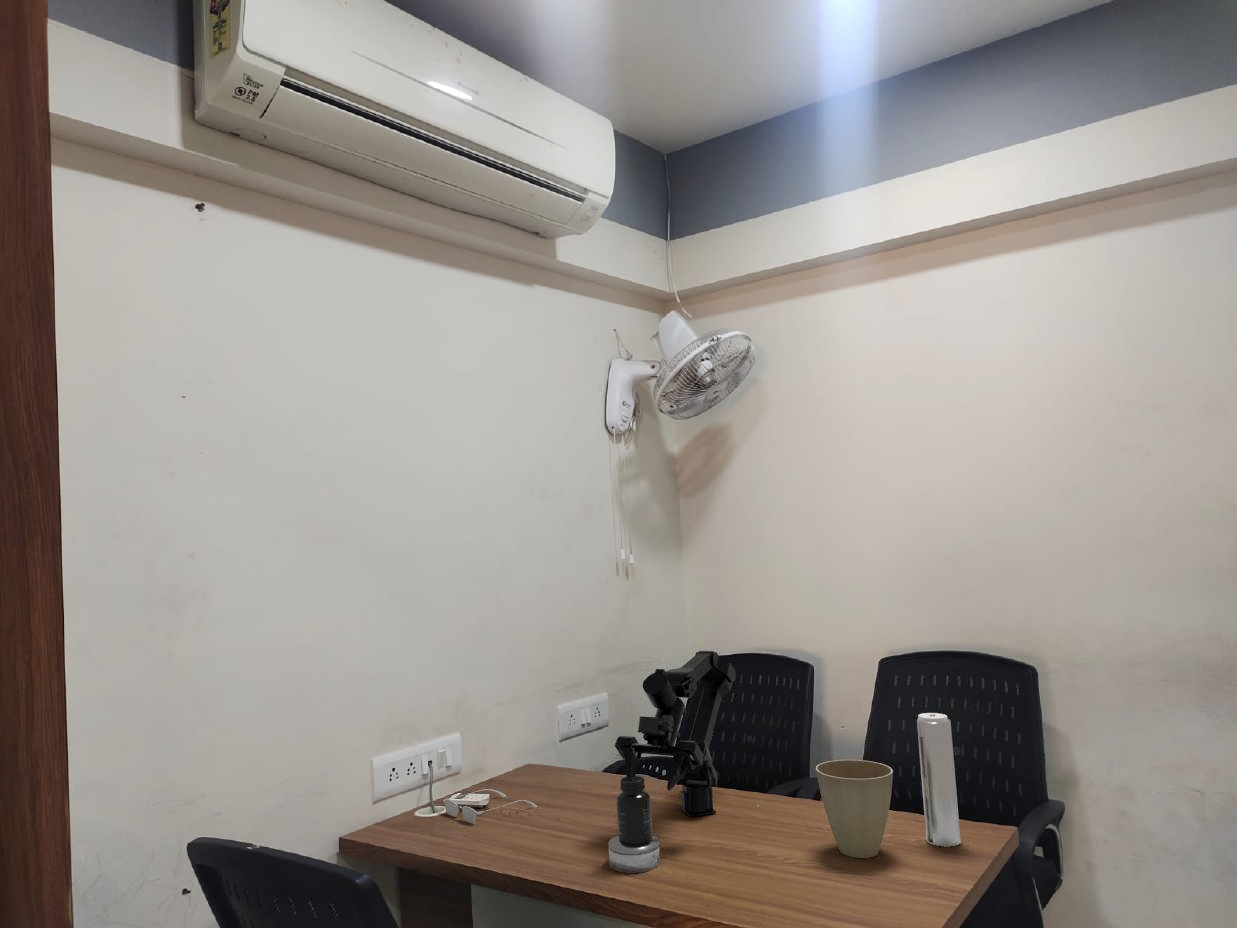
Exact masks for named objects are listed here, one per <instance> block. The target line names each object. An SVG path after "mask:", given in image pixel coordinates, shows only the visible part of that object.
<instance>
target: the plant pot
mask: <svg viewBox="0 0 1237 928" xmlns="http://www.w3.org/2000/svg"><path fill="white" fill-rule="evenodd" d="M815 771H816V772H815V773H816V777H817V781H818V787H819V793H820V796H821V799H822V803H823V807H824V810H825V814H826V817H827V820H828V824H829V826H830V829H831V832H832V835H833V838H834V840H835V843H836V845H837V847H838V849H839V851H840V853H841V854H843V856H844V855H845V856H847V857H850V858H856V859H868V858H872V857H873V858H874V857H875V856H877V855H878V854H879V851H880V849H881V845H882V842H883V839H884V835H885V831H886V827H887V822H888V817H889V813H890V806H891V799H892V790H893V789H892V788H893V780H894V779H893V776H894V775H893V774H894V769H892V768H891V767H890V766H889V765H887V764H884V763H880V762H876V761H870V760H863V759H862V760H861V759H860V760H859V759H836V760H830V761H825V762H821V763H818V764H817V765H816V766H815Z"/></svg>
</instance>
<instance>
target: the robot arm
mask: <svg viewBox="0 0 1237 928" xmlns="http://www.w3.org/2000/svg"><path fill="white" fill-rule="evenodd" d="M694 654H695V655H694V656H693V657H692V658H691V659H689V660H688V661H687V662H686V663H684V664H683V665H682V666H681V667H677V668H674V669H673V668H672V669H669V670H665V669H664V668H655V670H654V672H653V673H651V674H649V675H648V676H647V677H646V678H645V679H644V680H643V683H642V689H643V691H644V693H645V695H646V696H647V698H648V700H649V702H650V703H651V705H652V706H653V708H655V709H656V712H655V715H654V716H639V721H638V729H637V732H638V733H640V734H643V736H642V738H643V740H644V741H646V742H647V743H639V742H638V740H637V738H636V737H635V736H628V735H620V736H618V737H617V738H616V740H615V743H614V748H615V749H616V751H617V752H618V753H619V755H620V757H621V758H622V759H623V760H624V761H625V773H626V774H625V775H626V776H625V777H629V776H637V775H636V774H637V772H638V770H639V767H640V764H641V762H640V759H641V758H642V755H644V754H647V755H656V756H657V755H658V756H668V757H673V764H672V768H671V770H670V774H669V777H668V780H667V785H666V789H667V791H671V790H672V789H674V787H675V786H682V790H681V791H680V805H681V807H680V810H681V811H683V812H684V813H685V814H686V815H687V816H688V817H693V818H694V817H699V816H708V815H712V814H713V815H714V814H717V811H716V809H714V803H713V801H714V800H713V788H714V787H717V786H718V779H719V778H718V775H719V774H718V772H717V770H716V768H715V765H713V759H712V756H711V755H710V754H711V753H710V751H709V748H710V744H711V739H712V736H713V732H714V729H715V726H716V721H717V718H718V713H719V711H720V710H719V709H720V706H721V701H722V699H723V698H724V697H725V696H727V695H728V694H729V693H730V692H731V690H732V688H733V684H734V683H735V681H736V675H737V674H736V670H735V668H734V667H733V665H732V663H731V662H730V661H729V660H727V659H725V658H724V657H722V656H720V655H719V653H718V652H716V651H713V650H698V651H696V652H695V653H694ZM697 682H700V685H701V687H702V694H701V697H700V701H699V705H698V708H697V712H696V716H695V719H694V722H693V726H692V730H691V732H690V736H689V740H685V739H680V740H679V741H678V742H677V746H675V744H676V740H677V738H680V736H681V733H680V730H679V729H680V725H681V722H682V718H683V716H686V715H687V710H686V705H685V703H684V702H683V700H682V698H683V699H689V698H690V699H691V698H692V697H693V696H694V694H695V692H696V691H697Z"/></svg>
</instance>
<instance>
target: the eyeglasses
mask: <svg viewBox="0 0 1237 928" xmlns="http://www.w3.org/2000/svg"><path fill="white" fill-rule="evenodd" d="M482 791H491V792H492V791H493V792H494V793H495V794H498V796H499V797H500V798H506V797H507V795H506V794H505V793H503V792H501V791H499V790H495V789H492V788H491V789H490V788H488V789H487V788H486V789H485V788H484V789H480V790H476V791H473V792H469V793H465V794H462V795H458V796H455V797H452V798H445V799H443V800H442V802H443V803H444V807H445V808H444V809H445V812H446V814H447V815H449V816H452V817H455V818H457V815H458V813H459V812H460V809H461V814H462V817H463V820H464V822H467V823H469V824H472V825H475V823H476V820H477V815H482V814H483V813H485V812H489V811H491V810H492V811H493V810H495V809H498V808H502V807H505V806H508V805H512V804H516V803H518V802H525V803H528V804H529V805H530V806H531V807H532V809H535V808H538V805H536V804H535V803H534V802H531V801H530V800H525V799H520V800H515V801H512V802H511V803H508V804H504V805H501V806H498V807H494V808H490V809H488V810H480V811H476V810H475V809H474V808H473V807H470V806H468V805H467V806H461V805H460V806H458V804H457V803H456V802H455V801H453V800H454V799H456V798H459V797H462V796H467V795H470V794H473V793H478V792H482ZM452 799H453V800H452Z"/></svg>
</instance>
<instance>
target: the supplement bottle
mask: <svg viewBox="0 0 1237 928" xmlns="http://www.w3.org/2000/svg"><path fill="white" fill-rule="evenodd" d="M619 789H620V790H621V792H620V793H619V794H618V795H617V796H616V800H615V801H616V815H617V816H616V817H617V831H618V833H617V836H619V842H620V843H621V844H622V845H624V846H628V847H639V846H644V845H647V844H649V843H650V842H651V841H652V839H653V836H654V835H653V834H654V833H653V818H652V802H651V796H650V794H649V793H648V792H647V791H646V790H645V789H646V784H645V778H644V777H643V776H639V775H635V776H629V777H626V776H625V777H621V778H620V788H619Z"/></svg>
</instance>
